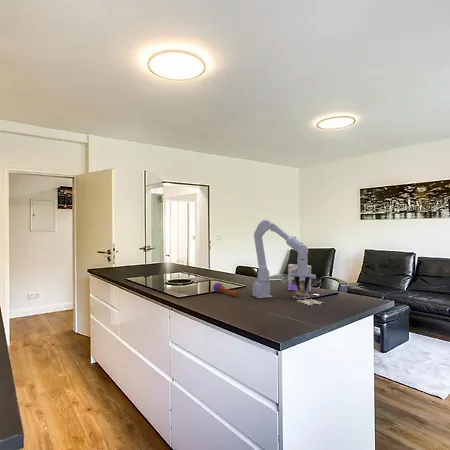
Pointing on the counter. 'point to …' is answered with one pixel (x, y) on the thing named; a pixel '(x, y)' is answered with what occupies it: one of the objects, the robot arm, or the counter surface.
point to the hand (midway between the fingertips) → (302, 290)
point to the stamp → (301, 290)
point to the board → (309, 301)
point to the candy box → (291, 281)
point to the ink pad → (301, 297)
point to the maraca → (220, 288)
